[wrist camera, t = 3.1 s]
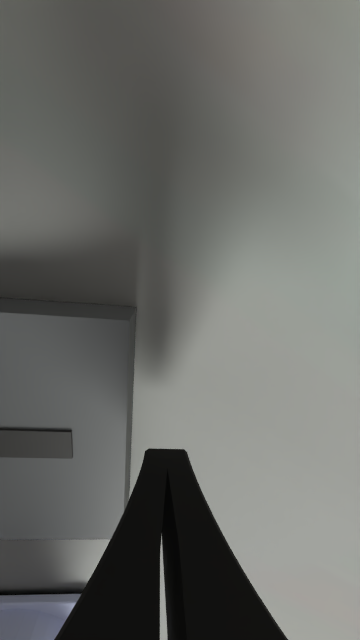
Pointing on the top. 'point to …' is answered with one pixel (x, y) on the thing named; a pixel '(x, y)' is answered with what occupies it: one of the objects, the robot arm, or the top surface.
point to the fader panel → (64, 418)
